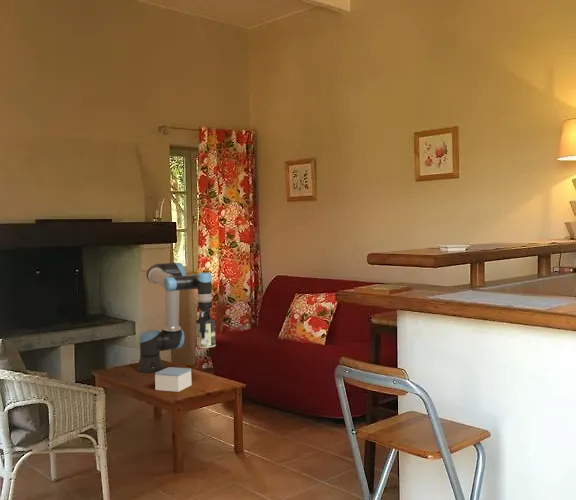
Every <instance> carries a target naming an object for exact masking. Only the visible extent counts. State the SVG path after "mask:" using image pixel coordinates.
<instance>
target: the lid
mask: <svg viewBox="0 0 576 500" xmlns="http://www.w3.org/2000/svg"><path fill="white" fill-rule="evenodd" d="M189 371H191V372H192V368H187V367H174V366H169V367H166V368H163V369H162V370H160V371H155V373H154V374H155V375H165V376H180V375H183V374H185V373H187V372H189ZM155 375H154V376H155Z"/></svg>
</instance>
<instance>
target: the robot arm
mask: <svg viewBox="0 0 576 500" xmlns="http://www.w3.org/2000/svg"><path fill="white" fill-rule="evenodd" d="M145 276H146V279H147V281H148V282H150V283H151V284H155V285H158V284H159V285H161V286H163V288H164V289H165V290H164V324H163V326H162V327H161V331H160V330H159V329H150V330H146V331H142V332H141V333H140V335H139V341H138V342H139V360H138V364H137V371H138V372H140V373H152V372H153V373H154V372H155V373H156V372H158V371H161V370H163V369H164V364H163V361H162V359H161V355H160V354H161V352H165V351H172V350H173V351H174V350H177V349H181V348H182V347H183V346H184V343H185V332H184V330H183V329H182V327H181V326H180V322H179V321H180V291H187V290H197V295H196V298H197V301H198V302H197V308H198V309H199V310H201V312H200V313H199V316H200V317H199V318H200V319H199V320H200V331H199V332H201V344H206V324H205V322H206V321H207V320H209V319H212V317H211V309H213V302H212V300H213V295H212V294H213V291H212V290H213V289H212V286H213V285H212V281H213V280H212V273H211V272H198V273H197V274H192V275H187V272H186V269H185V266H184V265H183V263H181V262H166V263H164V262H163V263H155V264H153V265H150V267H149V268H148V269H147V270H146V274H145Z"/></svg>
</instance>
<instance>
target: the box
mask: <svg viewBox="0 0 576 500" xmlns="http://www.w3.org/2000/svg"><path fill="white" fill-rule="evenodd" d="M154 382H155V383H154V385H155V386H154V387H155V388H154V389H155V390H156V391H165V392H181V391H183V390H185V389H186V388H189V387H191V386H192V370H191V371H189V372H187V373H185V374H183V375H180V376H165V375H154ZM155 390H154V391H155Z"/></svg>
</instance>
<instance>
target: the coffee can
mask: <svg viewBox="0 0 576 500" xmlns="http://www.w3.org/2000/svg"><path fill="white" fill-rule="evenodd" d="M195 323H196V324H195V325H196V327H195V328H196V330H195V331H196V347H197V348H198V349H199V348H200V349H208V348H214V347H216V346H217V344H216V319H214V318H211V319H209V320H207V321H206V322H205V324H206V344H201V332H199V331H200V319H197V320H195Z"/></svg>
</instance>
